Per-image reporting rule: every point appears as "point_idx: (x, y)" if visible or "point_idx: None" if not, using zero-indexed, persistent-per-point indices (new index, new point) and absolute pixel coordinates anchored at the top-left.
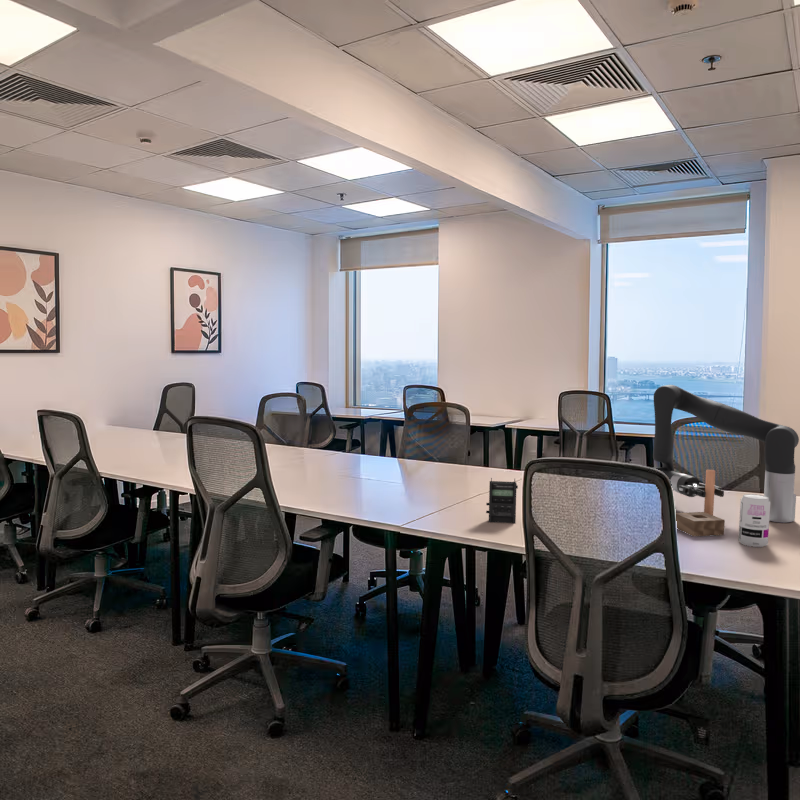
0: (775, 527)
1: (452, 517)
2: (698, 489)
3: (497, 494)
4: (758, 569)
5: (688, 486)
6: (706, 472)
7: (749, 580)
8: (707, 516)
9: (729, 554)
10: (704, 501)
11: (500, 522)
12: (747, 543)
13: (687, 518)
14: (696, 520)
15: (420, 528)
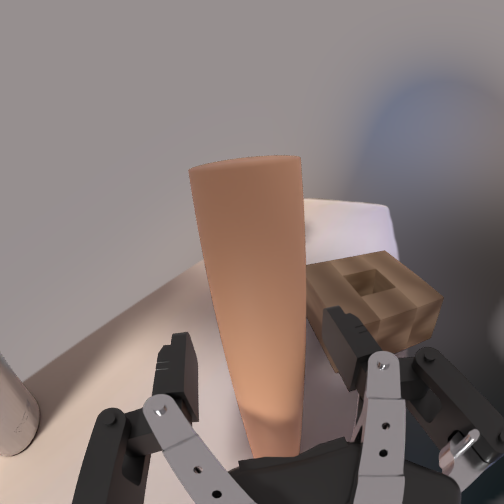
0: (87, 368)
1: None
2: (365, 346)
3: None
4: (311, 213)
5: (438, 473)
6: (302, 184)
7: (331, 202)
8: (341, 285)
9: (330, 234)
10: (300, 419)
11: None
12: None
13: (401, 263)
14: (378, 254)
15: None
